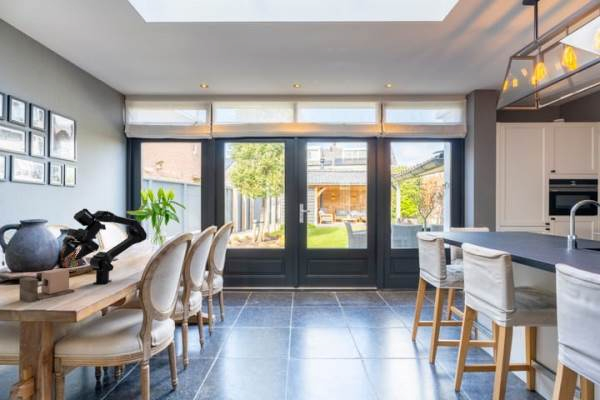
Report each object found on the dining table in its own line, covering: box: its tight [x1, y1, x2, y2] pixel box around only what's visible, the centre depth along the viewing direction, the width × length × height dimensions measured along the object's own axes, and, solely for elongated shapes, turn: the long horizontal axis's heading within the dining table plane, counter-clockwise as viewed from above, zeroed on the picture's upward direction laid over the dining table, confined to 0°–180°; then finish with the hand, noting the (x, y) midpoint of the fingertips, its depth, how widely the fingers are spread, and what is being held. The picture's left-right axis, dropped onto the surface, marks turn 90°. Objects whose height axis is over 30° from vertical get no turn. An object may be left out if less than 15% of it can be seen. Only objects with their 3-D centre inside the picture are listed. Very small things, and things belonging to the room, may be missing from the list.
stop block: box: [19, 276, 75, 303], centre depth 147 cm, size 18×9×9 cm, turn 157°
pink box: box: [40, 268, 70, 294], centre depth 150 cm, size 8×6×9 cm
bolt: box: [38, 280, 48, 288], centre depth 144 cm, size 6×2×2 cm, turn 157°
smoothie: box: [63, 248, 78, 267], centre depth 192 cm, size 8×8×20 cm
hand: (68, 259), depth 155 cm, fingers open, 9 cm apart
